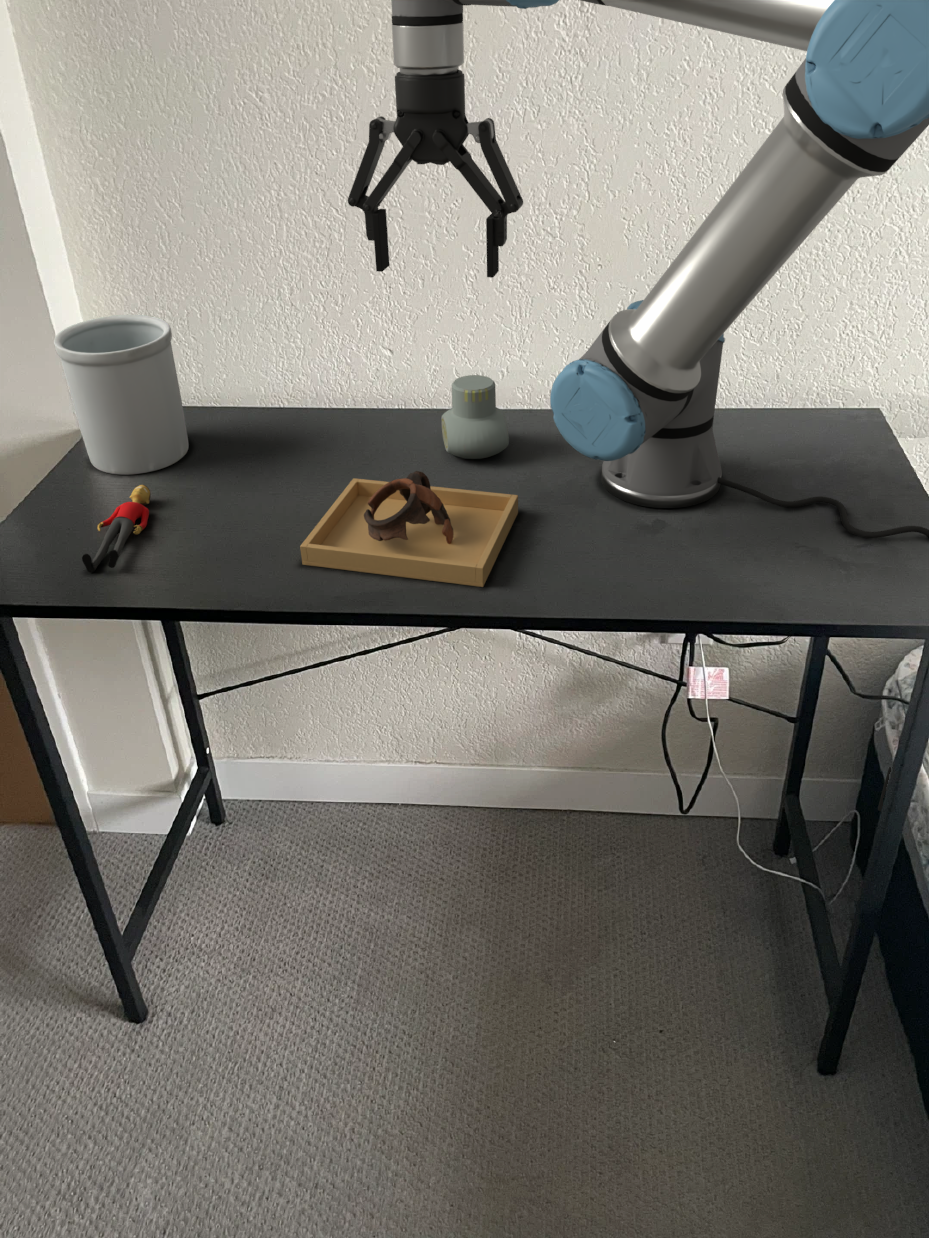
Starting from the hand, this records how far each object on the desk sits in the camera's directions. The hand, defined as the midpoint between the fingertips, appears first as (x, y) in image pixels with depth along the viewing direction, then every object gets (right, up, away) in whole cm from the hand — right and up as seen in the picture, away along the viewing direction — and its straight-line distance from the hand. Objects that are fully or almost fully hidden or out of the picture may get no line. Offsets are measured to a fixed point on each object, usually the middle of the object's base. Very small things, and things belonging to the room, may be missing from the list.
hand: (437, 271), depth 121 cm
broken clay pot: (-3, -31, +1) cm, 31 cm away
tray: (-3, -31, +1) cm, 32 cm away
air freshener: (+5, -18, +21) cm, 28 cm away
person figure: (-38, -31, +4) cm, 49 cm away
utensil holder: (-43, -18, +23) cm, 52 cm away
